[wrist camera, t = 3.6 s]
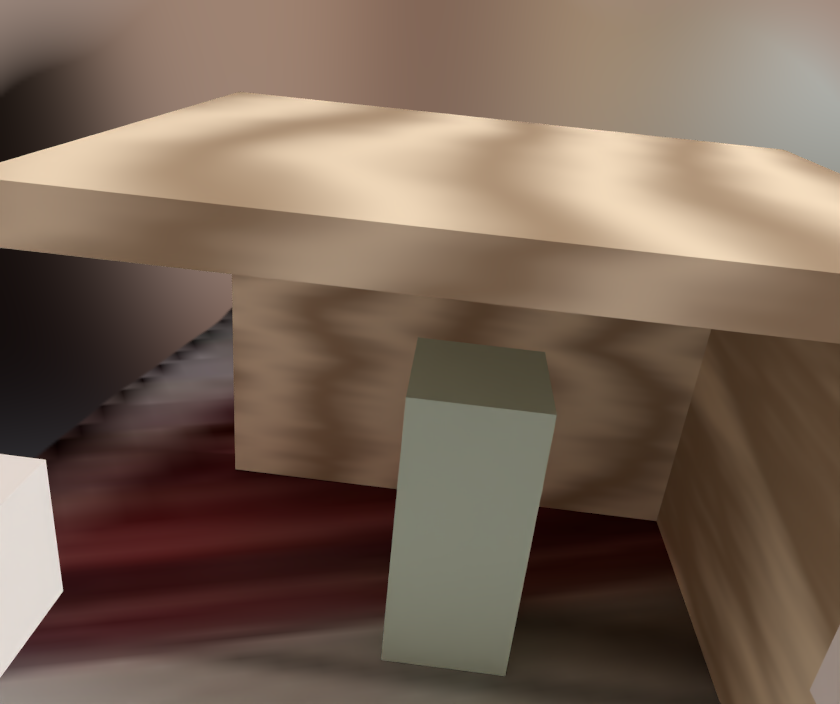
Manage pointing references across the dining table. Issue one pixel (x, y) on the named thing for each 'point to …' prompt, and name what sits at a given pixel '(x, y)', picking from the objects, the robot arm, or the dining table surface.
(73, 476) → the dining table surface
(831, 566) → the cubby box
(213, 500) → the dining table surface
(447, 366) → the tall block
